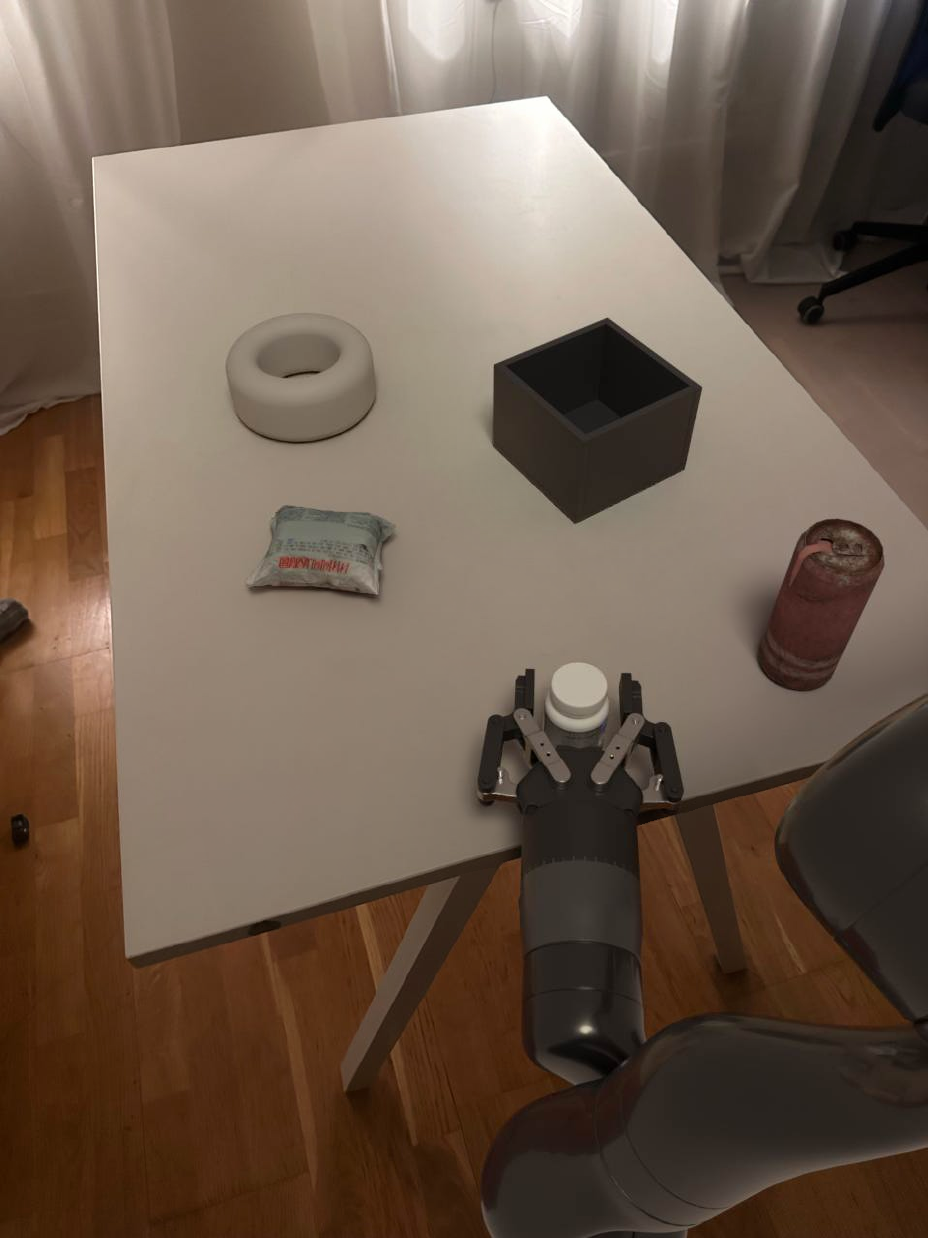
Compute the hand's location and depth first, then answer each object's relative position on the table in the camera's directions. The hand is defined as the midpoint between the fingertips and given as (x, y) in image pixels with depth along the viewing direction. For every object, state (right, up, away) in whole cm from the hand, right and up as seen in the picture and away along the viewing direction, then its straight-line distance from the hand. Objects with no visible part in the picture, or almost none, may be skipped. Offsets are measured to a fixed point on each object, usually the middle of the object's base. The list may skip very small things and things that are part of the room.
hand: (576, 677), depth 71 cm
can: (+19, +1, +8) cm, 20 cm away
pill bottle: (0, -6, +3) cm, 7 cm away
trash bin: (+4, +20, +25) cm, 32 cm away
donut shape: (-25, +27, +31) cm, 49 cm away
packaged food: (-21, +8, +16) cm, 27 cm away
